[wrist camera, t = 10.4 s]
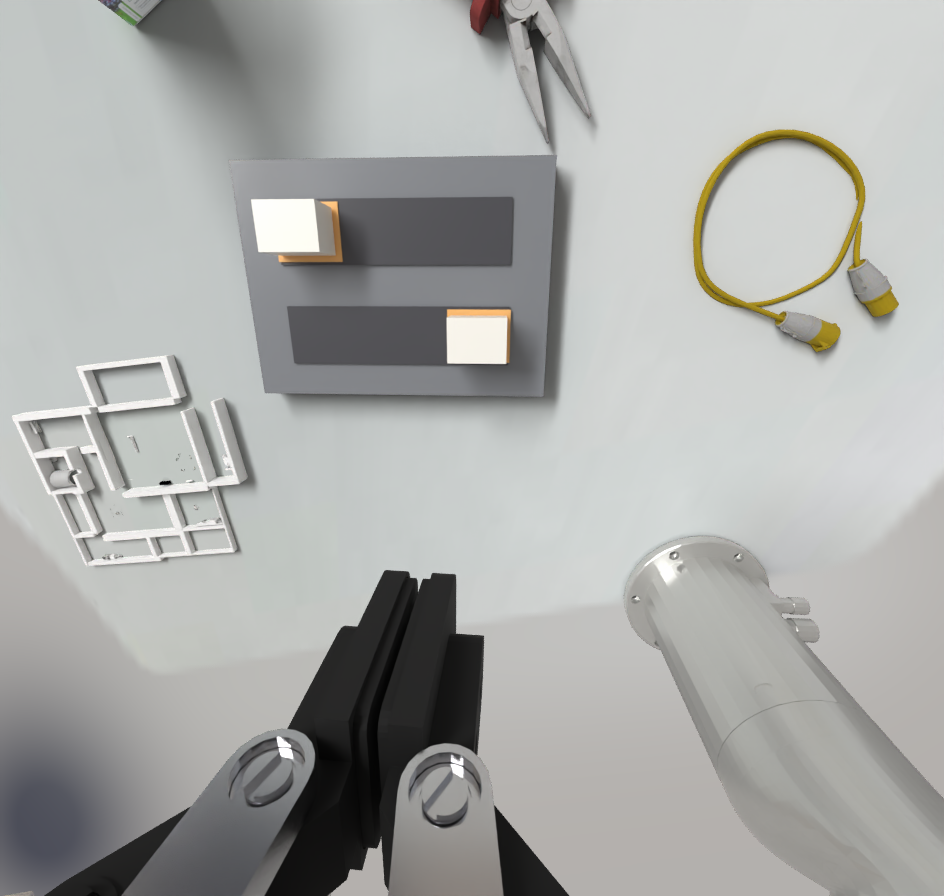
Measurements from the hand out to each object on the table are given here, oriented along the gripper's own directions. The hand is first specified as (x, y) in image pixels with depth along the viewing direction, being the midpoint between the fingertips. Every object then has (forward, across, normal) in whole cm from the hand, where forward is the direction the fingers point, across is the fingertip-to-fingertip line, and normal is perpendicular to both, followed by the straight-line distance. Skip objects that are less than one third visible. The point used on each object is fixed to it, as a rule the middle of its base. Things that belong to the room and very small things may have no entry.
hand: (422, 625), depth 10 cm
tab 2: (+25, 0, -5) cm, 25 cm away
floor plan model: (+27, +31, +4) cm, 42 cm away
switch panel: (+27, +7, -8) cm, 29 cm away
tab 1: (+24, +13, -12) cm, 30 cm away
